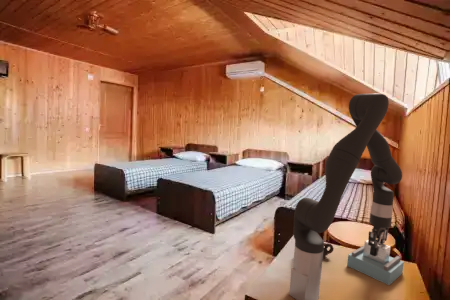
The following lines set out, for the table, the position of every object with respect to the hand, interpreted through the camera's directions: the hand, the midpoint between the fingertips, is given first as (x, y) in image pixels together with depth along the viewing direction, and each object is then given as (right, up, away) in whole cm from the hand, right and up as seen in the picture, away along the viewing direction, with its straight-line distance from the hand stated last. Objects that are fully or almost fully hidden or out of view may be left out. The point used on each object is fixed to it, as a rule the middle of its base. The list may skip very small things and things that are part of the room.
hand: (376, 253), depth 107 cm
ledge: (0, -7, +1) cm, 7 cm away
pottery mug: (-20, -5, +11) cm, 23 cm away
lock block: (0, -2, 0) cm, 2 cm away
